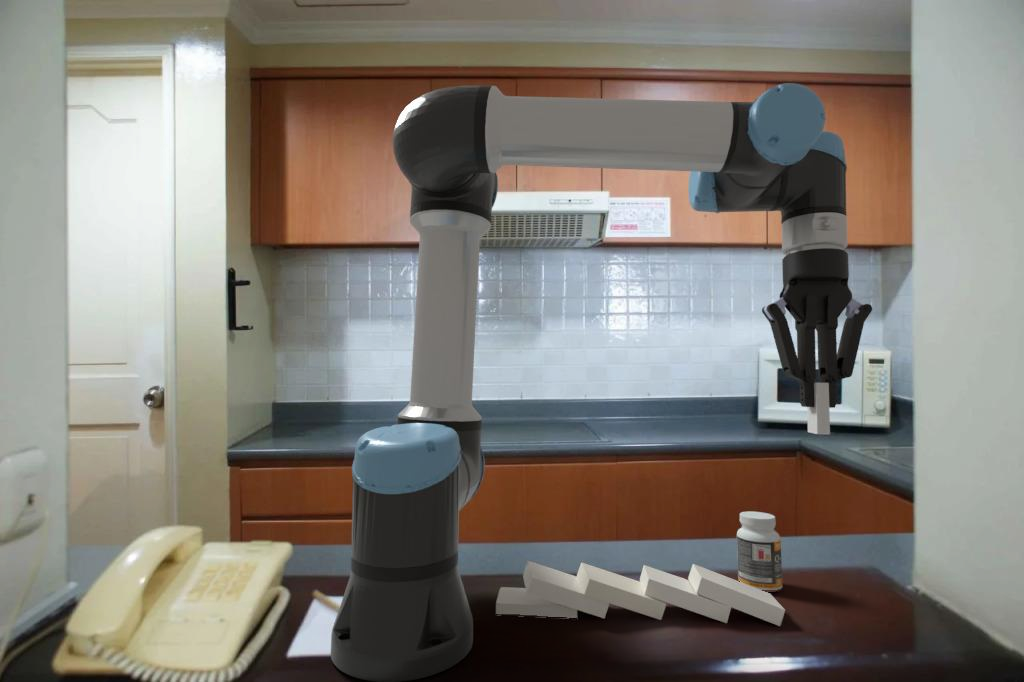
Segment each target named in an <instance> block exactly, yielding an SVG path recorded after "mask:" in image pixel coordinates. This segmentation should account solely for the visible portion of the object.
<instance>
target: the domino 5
mask: <svg viewBox="0 0 1024 682" xmlns="http://www.w3.org/2000/svg"><path fill="white" fill-rule="evenodd" d="M687 580H689V581H690V583H691V584H692V586H693V588H694V590H695V592H696V593H697V594H699V595H702V596H704V597H707V598H709V599H712V600H714V601H717V602H720V603H722V604H725V605H727V606H730V607H731V609H735V610H738V611H740V612H742V613H745V614H747V615H750V616H753V617H755V618H758V619H760V620H762V621H766V622H768V623H771V624H774V625H776V626H778V627H781V625H782V623H783V619H784V616H785V612H786V609H785V608H784V607H783V606H782V604H780V603H779V602H778V600H776V598H775V597H774V596H773V595H772V593H768V592H765V591H762V590H760V589H757V588H755V587H752V586H749V585H747V584H744V583H742V582H739V580H736V579H734V578H731V577H728V576H726V575H723V574H720V573H718V572H715V571H713V570H710V569H708V568H705V567H703V566H701V565H697V564H695V563H692V565H691V568H690V572H689V573H688V577H687Z"/></svg>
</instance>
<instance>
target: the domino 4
mask: <svg viewBox="0 0 1024 682" xmlns="http://www.w3.org/2000/svg"><path fill="white" fill-rule="evenodd" d="M639 582H641V585H642V588H643V591H644V594H645V595H647V596H649V597H652V598H655V599H658V600H661V601H664V602H665V603H666V604H670V605H673V606H675V607H678V608H682V609H684V610H687V611H690V612H692V613H696V614H699V615H702V616H704V617H707V618H710V619H713V620H716V621H720V622H722V623H725V624H727V623H728V620H729V618H730V617H729V616H730V613H731V610H732V607H730V606H727V605H725V604H722V603H720V602H717V601H714V600H712V599H709V598H707V597H704V596H702V595H699V594H697V593H696V592H695V590H694V588H693V586H692V584H691V583H690V581H689V579H688V578H687V579H686V578H684V577H681V576H678V575H674V574H671V573H670V572H665V571H664V570H660V569H657V568H654V567H651V566H648V565H645V564H643V567H642V570H641V574H640V577H639Z"/></svg>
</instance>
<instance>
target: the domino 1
mask: <svg viewBox="0 0 1024 682" xmlns="http://www.w3.org/2000/svg"><path fill="white" fill-rule="evenodd" d="M496 614H520V615H537V616H548V617H567V618H566V619H569V618H577V619H578V610H576V609H573V608H570V607H567V606H564V605H561V604H558V603H555V602H552V601H549V600H545V599H542V598H539V597H536V596H533V595H530V594H527V592H526V587H506V586H505V587H504V586H500V589H499V591H498V594H497V598H496V602H495V615H496Z"/></svg>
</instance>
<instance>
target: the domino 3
mask: <svg viewBox="0 0 1024 682" xmlns="http://www.w3.org/2000/svg"><path fill="white" fill-rule="evenodd" d="M575 576H576V578H577V580H578V582H579V584H580V587H581V589H582V591H583V593H584V595H586V596H589V597H592V598H595V599H598V600H601V601H604V602H607V603H610V604H611V605H613V606H616V607H621V608H622V609H626V610H629V611H632V612H635V613H638V614H642V615H644V616H647V617H650V618H654V619H656V620H658V621H659V620H660V621H662V619H663V617H664V613H665V610H666V607H667V602H664V601H661V600H658V599H655V598H652V597H649V596H647V595H645V594H644V591H643V588H642V585H641V582H640V580H636V579H633V578H629V577H628V576H623V575H621V574H618V573H615V572H612V571H610V570H606V569H603V568H599V567H597V566H593V565H590V564H587V563H585V562H581V563H580V565H579V568H578V570H577V573H576V575H575ZM610 604H609V605H610Z"/></svg>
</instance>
